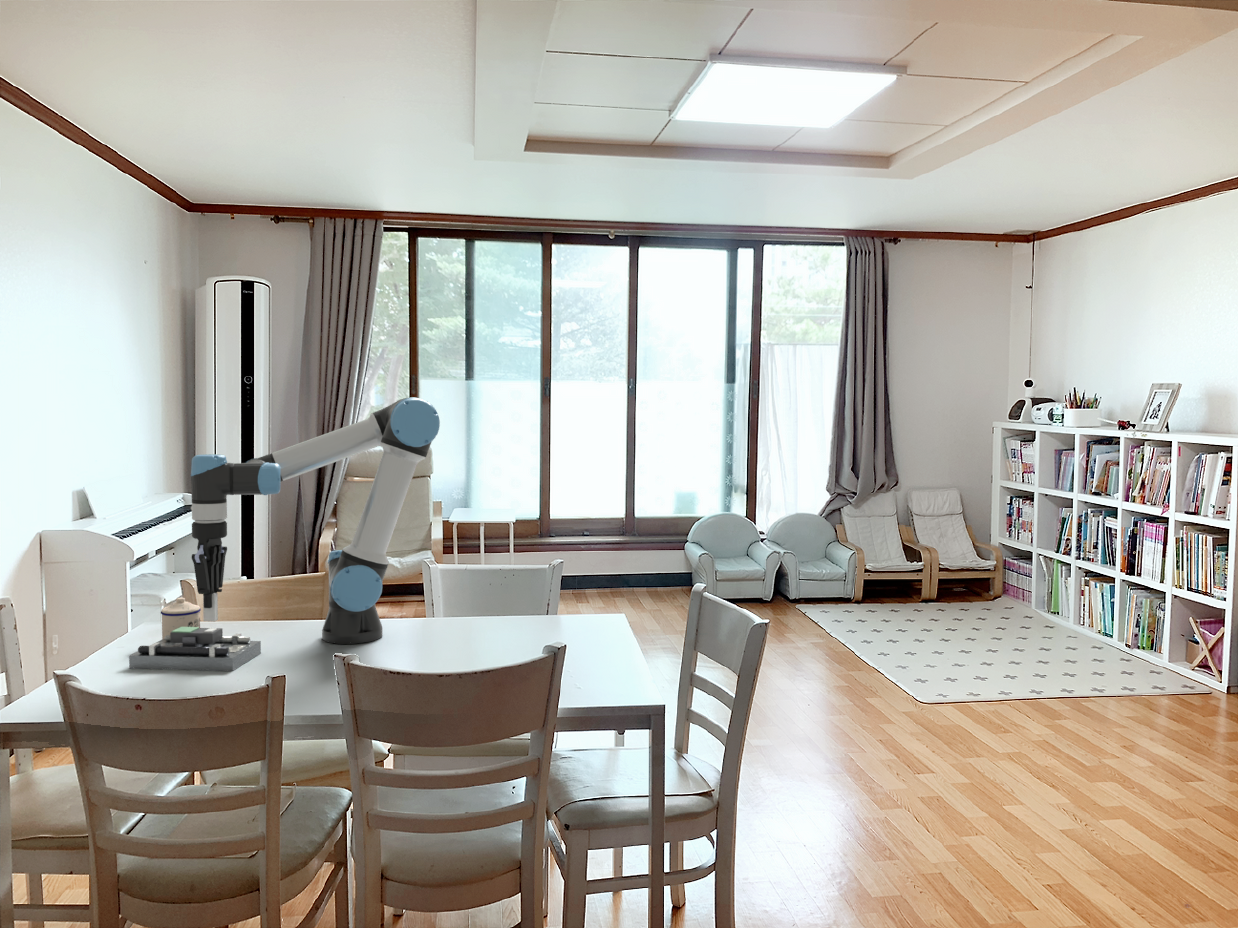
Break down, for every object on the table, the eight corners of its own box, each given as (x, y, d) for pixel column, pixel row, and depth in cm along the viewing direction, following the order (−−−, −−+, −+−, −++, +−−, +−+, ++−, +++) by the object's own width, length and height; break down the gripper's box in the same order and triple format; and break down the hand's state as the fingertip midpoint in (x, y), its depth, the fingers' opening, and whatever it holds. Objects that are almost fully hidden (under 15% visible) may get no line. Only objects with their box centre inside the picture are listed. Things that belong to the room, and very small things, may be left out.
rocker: (222, 638, 222) (222, 627, 222) (212, 643, 217) (212, 632, 217) (181, 637, 222) (181, 626, 222) (170, 642, 217) (170, 631, 217)
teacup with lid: (189, 649, 229) (188, 602, 229) (153, 648, 230) (152, 601, 229) (213, 637, 241) (213, 592, 241) (179, 636, 242) (178, 591, 241)
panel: (260, 653, 227) (260, 626, 226) (232, 670, 212) (232, 642, 211) (163, 650, 228) (163, 624, 227) (129, 668, 213) (128, 640, 212)
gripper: (207, 516, 224) (208, 613, 226) (179, 524, 211) (180, 626, 213) (237, 517, 224) (238, 614, 225) (212, 524, 211) (213, 627, 212)
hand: (210, 620), depth 219 cm, fingers closed
